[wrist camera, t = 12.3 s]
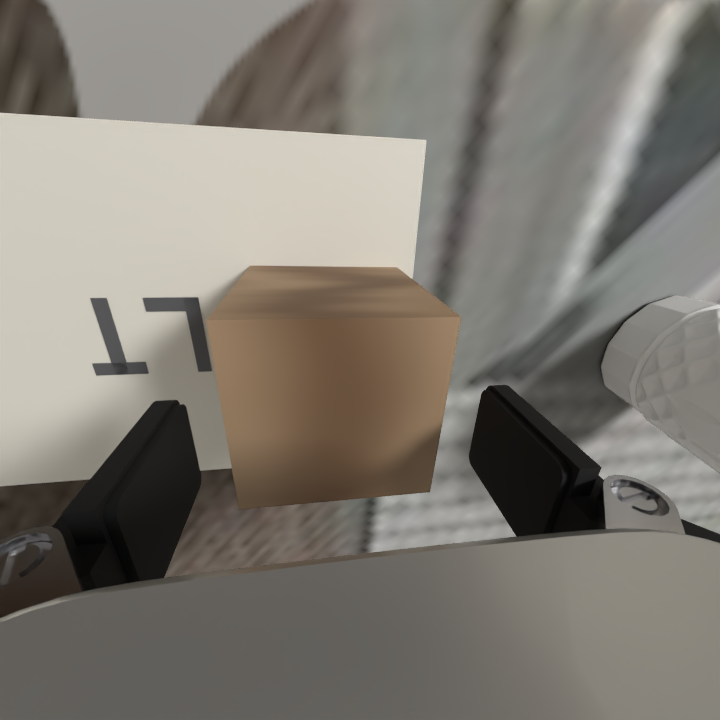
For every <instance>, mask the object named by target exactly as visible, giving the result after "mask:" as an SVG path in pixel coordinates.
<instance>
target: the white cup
mask: <svg viewBox="0 0 720 720" xmlns="http://www.w3.org/2000/svg"><path fill="white" fill-rule="evenodd" d="M601 370H602V376H603V381H604V385H605V386H606V387H607V388H608V389H609V390H611V391H612V392H613V393H614V394H615V395H617V396H618V397H619V398H621V399H622V400H623V401H625V402H626V403H628V404H629V405H631V406H632V407H633V408H635V409H636V410H637V411H639V412H640V413H641V414H643V416H644V417H645V419H646V420H647V421H649V422H650V423H651V424H653V425H654V426H656V427H657V428H659V429H660V430H662V431H663V432H664V433H665V434H666V435H667V436H668V437H669V438H671V439H672V440H674V441H675V442H676V443H678V444H679V445H681V446H682V447H683V448H685V449H686V450H687V451H689V452H690V453H692V454H693V455H694V456H696V457H697V458H699V459H700V460H701V461H703V462H704V463H705V464H707V465H708V466H710V467H711V468H712V469H714V470H715V471H716V472H718V473H719V474H720V304H719V303H715V302H711V301H706V300H702V299H696V298H690V297H684V296H678V295H675V296H671V297H668V298H665V299H662V300H659V301H656V302H653V303H650V304H648V305H647V306H645V307H644V308H643V309H641V310H640V311H638V312H637V313H636V314H634V315H633V316H632V317H630V318H629V319H628V320H626V321H625V322H624V323H623V325H622V326H621V327H620V329H619V330H618V331H617V333H616V334H615V335H614V337H613V338H612V339H611V341H610V342H609V343H608V345H607V349H606V352H605V355H604V358H603V361H602V365H601Z"/></svg>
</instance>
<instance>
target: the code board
mask: <svg viewBox="0 0 720 720" xmlns="http://www.w3.org/2000/svg"><path fill="white" fill-rule="evenodd" d="M425 150H426V140H417V139H401V138H385V137H370V136H354V135H338V134H323V133H307V132H291V131H276V130H260V129H244V128H229V127H213V126H197V125H182V124H166V123H150V122H135V121H119V120H103V119H88V118H72V117H56V116H41V115H25V114H9V113H0V486H10V485H23V484H36V483H49V482H62V481H74V480H87V479H91V478H92V476H93V475H94V474H95V473H96V472H97V470H98V469H99V468H100V467H101V465H102V464H103V463H104V462H105V461H106V459H107V458H108V457H109V456H110V454H111V453H112V452H113V451H114V450H115V448H116V447H117V446H118V445H119V443H120V442H121V441H122V440H123V439H124V437H125V436H126V435H127V434H128V432H129V431H130V430H131V429H132V428H133V426H134V425H135V424H136V423H137V421H138V420H139V419H140V418H141V417H142V415H143V414H144V413H145V412H146V410H147V409H148V408H149V407H150V406H151V404H152V403H153V402H154V401H162V400H177V401H179V403H180V404H184V405H185V406H186V408H187V412H188V417H189V422H190V426H191V431H192V435H193V440H194V445H195V449H196V454H197V458H198V463H199V468H200V471H202V470H215V469H228V468H232V466H231V461H230V455H229V449H228V443H227V438H226V432H225V426H224V420H223V415H222V409H221V403H220V397H219V392H218V386H217V380H216V375H215V369H214V363H213V357H212V352H211V346H210V340H209V334H208V329H207V323H206V319H207V318H208V317H209V316H210V315H211V313H212V312H213V311H214V310H215V308H216V307H217V306H218V305H219V303H220V302H221V301H222V300H223V299H224V297H225V296H226V295H227V294H228V292H229V291H230V290H231V289H232V287H233V286H234V285H235V284H236V283H237V281H238V280H239V279H240V278H241V276H242V275H243V274H244V273H245V271H246V270H247V269H248V268H249V267H250V266H333V267H397V268H399V269H400V270H401V271H402V272H404V273H405V274H406V275H408V276H409V277H410V278H411V279H412V278H413V268H414V258H415V249H416V239H417V229H418V219H419V209H420V199H421V189H422V179H423V170H424V160H425Z"/></svg>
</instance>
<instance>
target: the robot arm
mask: <svg viewBox="0 0 720 720" xmlns="http://www.w3.org/2000/svg"><path fill="white" fill-rule="evenodd" d="M469 460H470V463H471V466H472V467H473V469H474V470H475V472H476V474H477V475H478V477H479V478H480V480H481V481H482V483H483V484H484V486H485V488H486V489H487V491H488V492H489V494H490V495H491V497H492V499H493V500H494V502H495V503H496V505H497V506H498V508H499V510H500V511H501V513H502V514H503V516H504V517H505V519H506V521H507V522H508V524H509V525H510V527H511V528H512V530H513V532H514V533H515V535H516V536H517V537H509V538H500V539H491V540H481V541H472V542H463V543H453V544H444V545H435V546H426V547H417V548H408V549H400V550H391V551H382V552H373V553H364V554H356V555H347V556H338V557H329V558H321V559H312V560H304V561H296V562H287V563H279V564H270V565H262V566H254V567H245V568H237V569H228V570H220V571H212V572H205V573H197V574H190V575H182V576H175V577H168V578H164V576H165V574H166V571H167V569H168V566H169V564H170V561H171V559H172V556H173V554H174V551H175V549H176V546H177V544H178V541H179V538H180V536H181V533H182V531H183V528H184V526H185V523H186V521H187V518H188V516H189V513H190V511H191V508H192V506H193V503H194V501H195V498H196V496H197V493H198V491H199V488H200V485H201V472H200V468H199V463H198V458H197V454H196V449H195V445H194V440H193V435H192V431H191V426H190V422H189V417H188V412H187V408H186V406H185V405H184V404H180V403H179V401H177V400H162V401H154V402H153V403H152V404H151V406H150V407H149V408H148V409H147V410H146V412H145V413H144V414H143V415H142V417H141V418H140V419H139V420H138V421H137V423H136V424H135V425H134V426H133V428H132V429H131V430H130V431H129V432H128V434H127V435H126V436H125V437H124V439H123V440H122V441H121V442H120V443H119V445H118V446H117V447H116V448H115V450H114V451H113V452H112V453H111V454H110V456H109V457H108V458H107V459H106V461H105V462H104V463H103V464H102V465H101V467H100V468H99V469H98V470H97V472H96V473H95V474H94V475H93V476H92V478H91V479H90V480H89V481H88V483H87V484H86V485H85V486H84V487H83V489H82V490H81V491H80V492H79V494H78V495H77V496H76V497H75V498H74V500H73V501H72V502H71V503H70V505H69V506H68V507H67V508H66V509H65V511H64V512H63V513H62V516H61V517H60V518H59V519H58V520H57V522H56V523H55V524H54V525H53V527H50V526H49V527H35V528H31V529H26V530H23V531H20V532H18V533H15V534H13V535H10V536H8V537H6V538H4V539H2V540H0V720H720V534H718V533H715V532H713V531H710V530H708V529H705V528H702V527H700V526H697V525H695V524H692V523H690V522H687V521H685V520H682V519H681V518H680V515H679V512H678V509H677V508H676V506H675V504H674V503H673V502H672V501H671V500H670V498H669V497H668V496H667V495H665V494H664V493H662V492H661V491H660V490H658V489H657V488H655V487H653V486H651V485H650V484H648V483H646V482H643V481H641V480H638V479H636V478H632V477H628V476H623V475H612V476H608V477H607V478H605V479H604V480H603V479H602V478H601V477H600V476H599V475H598V474H599V472H600V469H601V467H600V466H599V465H598V464H597V463H596V462H595V461H593V460H592V459H591V458H590V457H589V456H588V455H587V454H585V453H584V452H583V451H582V450H581V449H580V448H579V447H577V446H576V445H575V444H574V443H573V442H572V441H571V440H569V439H568V438H567V437H566V436H565V435H564V434H563V433H562V432H560V431H559V430H558V429H557V428H556V427H555V426H554V425H552V424H551V423H550V422H549V421H548V420H547V419H546V418H544V417H543V416H542V415H541V414H540V413H539V412H538V411H536V410H535V409H534V408H533V407H532V406H531V405H530V404H528V403H527V402H526V401H525V400H524V399H523V398H522V397H520V396H519V395H518V394H517V393H516V392H515V391H514V390H512V389H511V388H510V387H509V386H507V385H495V386H488V387H487V389H486V390H484V391H483V392H482V394H481V399H480V404H479V409H478V414H477V418H476V423H475V428H474V433H473V438H472V443H471V448H470V453H469Z"/></svg>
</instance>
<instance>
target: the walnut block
mask: <svg viewBox="0 0 720 720" xmlns="http://www.w3.org/2000/svg"><path fill="white" fill-rule="evenodd" d="M460 321H461V317H460V316H459V315H458V314H457V313H455V312H454V311H453V310H451V309H450V308H449V307H448V306H446V305H445V304H444V303H442V302H441V301H440V300H439V299H437V298H436V297H435V296H433V295H432V294H431V293H429V292H428V291H427V290H426V289H424V288H423V287H422V286H420V285H419V284H418V283H417V282H415V281H414V280H413V279H411V278H410V277H409V276H408V275H406V274H405V273H404V272H402V271H401V270H400V269H399V268H397V267H333V266H250V267H249V268H248V269H247V270H246V271H245V273H244V274H243V275H242V276H241V278H240V279H239V280H238V281H237V283H236V284H235V285H234V286H233V287H232V289H231V290H230V291H229V292H228V294H227V295H226V296H225V297H224V299H223V300H222V301H221V302H220V303H219V305H218V306H217V307H216V308H215V310H214V311H213V312H212V313H211V315H210V316H209V317H208V318H207V319H206V323H207V329H208V334H209V340H210V346H211V352H212V357H213V363H214V369H215V375H216V380H217V386H218V392H219V397H220V403H221V409H222V415H223V420H224V426H225V432H226V438H227V443H228V449H229V455H230V461H231V466H232V472H233V478H234V483H235V489H236V495H237V501H238V506H239V510H240V509H251V508H262V507H272V506H283V505H294V504H305V503H316V502H327V501H338V500H348V499H359V498H370V497H381V496H392V495H403V494H414V493H424V492H430V488H431V483H432V477H433V472H434V466H435V461H436V455H437V449H438V444H439V438H440V433H441V427H442V422H443V416H444V410H445V405H446V399H447V394H448V388H449V383H450V377H451V371H452V366H453V360H454V355H455V349H456V344H457V338H458V332H459V327H460Z"/></svg>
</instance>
